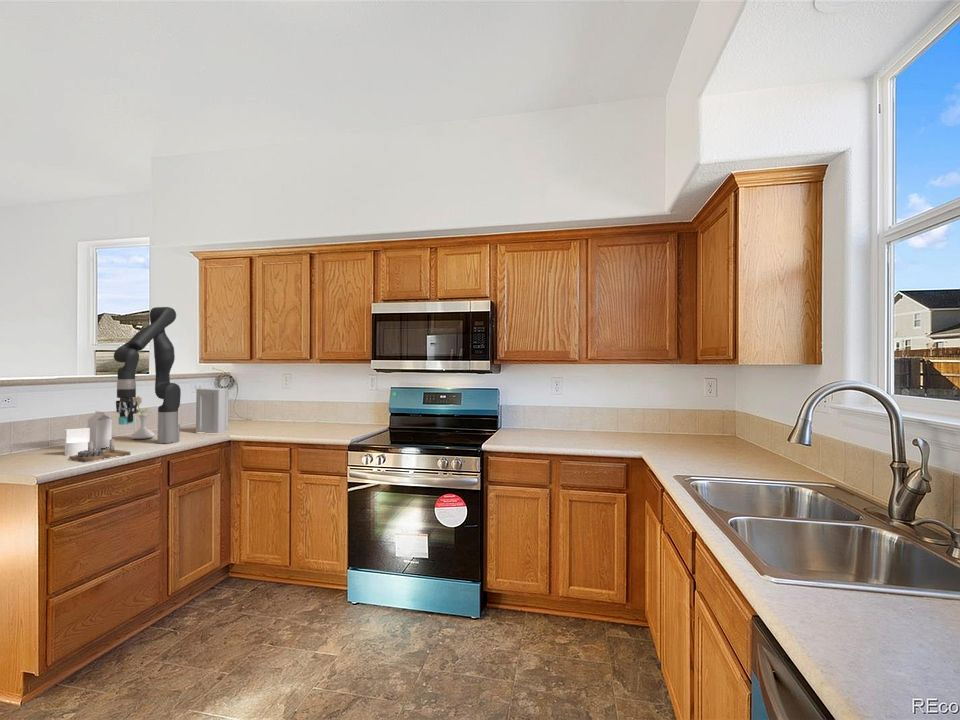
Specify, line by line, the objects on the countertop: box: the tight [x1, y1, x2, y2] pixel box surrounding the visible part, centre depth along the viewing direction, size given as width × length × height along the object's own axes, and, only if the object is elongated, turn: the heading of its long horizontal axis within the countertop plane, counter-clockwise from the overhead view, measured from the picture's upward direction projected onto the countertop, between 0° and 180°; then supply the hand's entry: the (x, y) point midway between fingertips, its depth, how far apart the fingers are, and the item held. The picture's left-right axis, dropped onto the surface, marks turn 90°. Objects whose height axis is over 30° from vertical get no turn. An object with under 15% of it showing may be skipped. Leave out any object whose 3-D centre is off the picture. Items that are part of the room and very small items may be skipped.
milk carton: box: [87, 410, 113, 450], centre depth 232 cm, size 7×7×19 cm
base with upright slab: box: [64, 427, 90, 456], centre depth 218 cm, size 9×9×12 cm
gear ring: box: [118, 415, 135, 425], centre depth 226 cm, size 6×6×4 cm
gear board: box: [68, 438, 131, 463], centre depth 210 cm, size 18×13×8 cm
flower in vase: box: [130, 395, 156, 440], centre depth 262 cm, size 13×11×25 cm
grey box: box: [195, 387, 230, 433], centre depth 289 cm, size 19×15×28 cm
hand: (126, 421), depth 226 cm, fingers closed on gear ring, 6 cm apart
